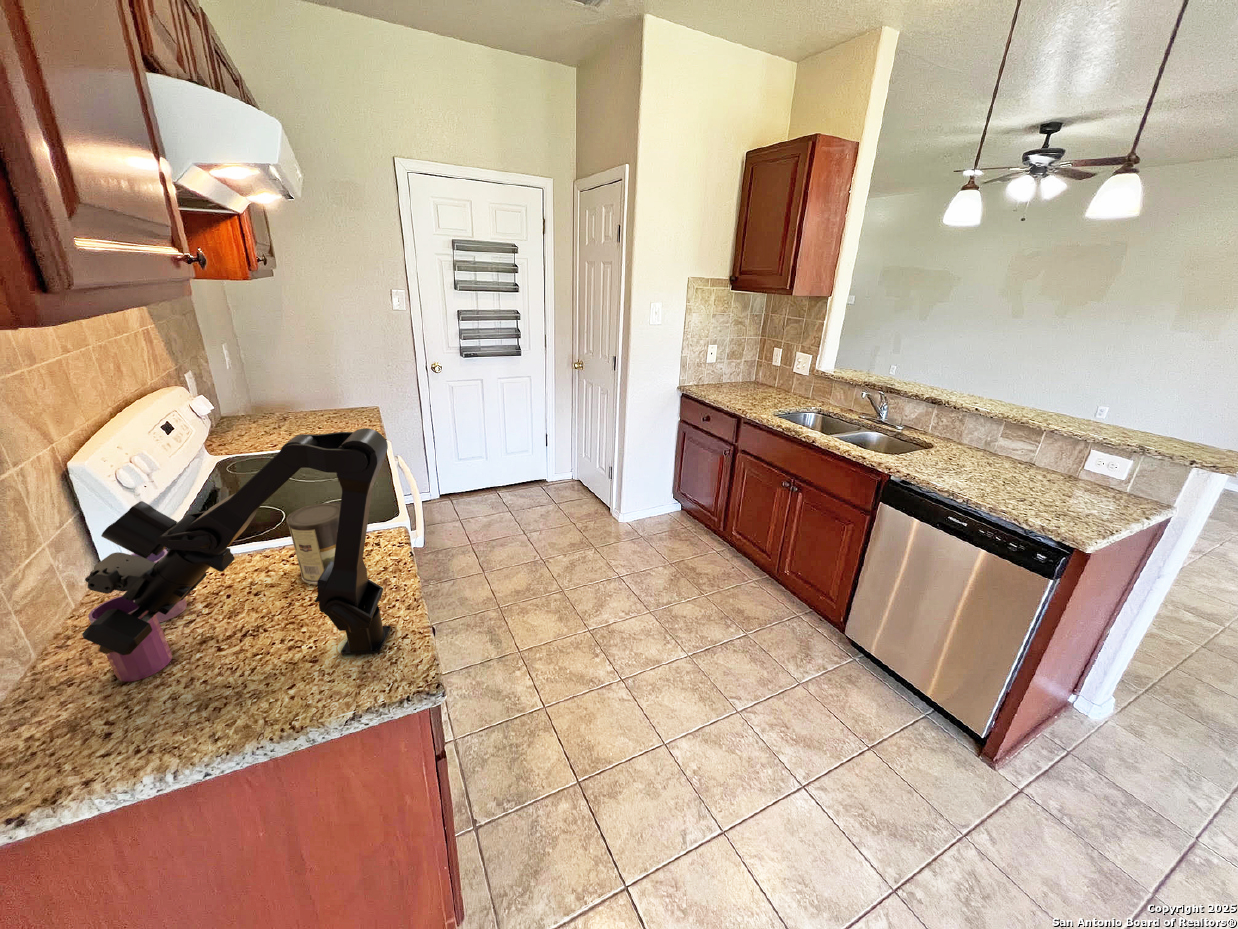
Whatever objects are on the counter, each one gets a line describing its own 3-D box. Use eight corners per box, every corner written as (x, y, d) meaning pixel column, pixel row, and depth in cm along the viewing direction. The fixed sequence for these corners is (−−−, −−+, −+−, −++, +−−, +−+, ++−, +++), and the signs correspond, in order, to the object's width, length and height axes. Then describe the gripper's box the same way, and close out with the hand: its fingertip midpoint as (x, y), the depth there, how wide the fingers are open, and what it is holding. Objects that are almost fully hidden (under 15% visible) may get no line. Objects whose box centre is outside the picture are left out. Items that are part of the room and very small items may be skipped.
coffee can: (357, 554, 113) (346, 499, 108) (352, 579, 104) (340, 521, 99) (305, 562, 109) (291, 506, 104) (296, 589, 100) (280, 529, 95)
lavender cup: (170, 623, 90) (148, 568, 86) (129, 625, 89) (105, 570, 85) (195, 600, 96) (176, 547, 92) (157, 601, 96) (136, 549, 91)
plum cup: (165, 673, 79) (139, 613, 75) (109, 687, 76) (79, 626, 72) (177, 646, 85) (155, 588, 80) (126, 658, 82) (99, 599, 78)
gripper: (164, 512, 81) (109, 574, 83) (72, 578, 64) (7, 653, 66) (230, 549, 86) (177, 607, 88) (161, 619, 69) (97, 689, 71)
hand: (121, 634), depth 78 cm, fingers open, 7 cm apart
